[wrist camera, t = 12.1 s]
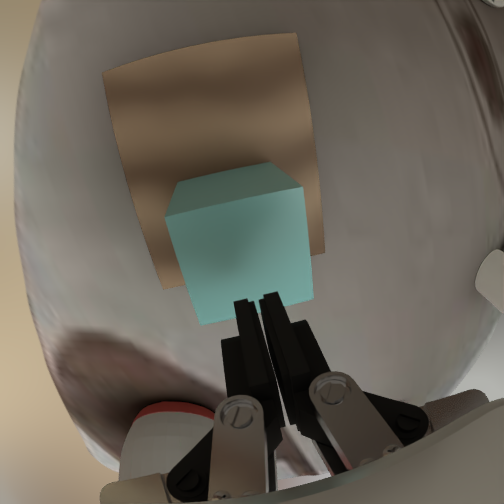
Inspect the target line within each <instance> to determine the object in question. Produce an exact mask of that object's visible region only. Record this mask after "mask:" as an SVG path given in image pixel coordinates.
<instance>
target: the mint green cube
mask: <svg viewBox="0 0 504 504" xmlns="http://www.w3.org/2000/svg"><path fill="white" fill-rule="evenodd" d="M164 218H165V221H166V225H167V228H168V231H169V234H170V238H171V241H172V244H173V247H174V250H175V253H176V257H177V260H178V263H179V266H180V269H181V272H182V275H183V278H184V281H185V284H186V286H187V289H188V292H189V295H190V298H191V301H192V303H193V306H194V309H195V312H196V315H197V317H198V320H199V323H200V325H206V324H210V323H215V322H220V321H225V320H229V319H234V318H236V314H235V309H234V303H233V301H238V300H242V299H246V298H248V302H251V301H254V302H255V306H256V310H257V313H260V312H261V310H260V305H259V299H263V294H268V293H272V292H276V291H278V293H279V296H280V298H281V301H282V303H283V305H284V307H285V306H289V305H293V304H296V303H300V302H304V301H308V300H312V299H314V297H313V283H312V270H311V258H310V247H309V236H308V227H307V217H306V208H305V199H304V191H303V186H301V185H300V184H299V183H298V182H296V181H295V180H294V179H292V178H291V177H290V176H288V175H287V174H286V173H285V172H283V171H282V170H281V169H279V168H278V167H277V166H275V165H274V164H273V163H271V162H267V163H261V164H256V165H251V166H246V167H241V168H236V169H232V170H227V171H222V172H218V173H213V174H209V175H205V176H200V177H196V178H192V179H188V180H184V181H180V182H178V183H177V185H176V188H175V190H174V193H173V195H172V198H171V201H170V203H169V206H168V209H167V211H166V214H165V217H164Z"/></svg>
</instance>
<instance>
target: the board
mask: <svg viewBox="0 0 504 504" xmlns="http://www.w3.org/2000/svg"><path fill="white" fill-rule="evenodd" d="M102 76H103V81H104V87H105V92H106V97H107V102H108V107H109V112H110V116H111V121H112V125H113V129H114V134H115V138H116V142H117V146H118V150H119V154H120V158H121V161H122V165H123V169H124V172H125V176H126V180H127V183H128V187H129V190H130V193H131V197H132V200H133V203H134V207H135V210H136V213H137V216H138V219H139V222H140V225H141V229H142V232H143V235H144V237H145V240H146V243H147V246H148V249H149V252H150V255H151V258H152V260H153V263H154V266H155V269H156V271H157V274H158V277H159V279H160V282H161V285H162V287H163V290H164V289H168V288H173V287H177V286H182V285H186V284H185V281H184V278H183V275H182V272H181V269H180V266H179V263H178V260H177V257H176V253H175V250H174V247H173V244H172V241H171V238H170V234H169V231H168V228H167V225H166V221H165V218H164V217H165V214H166V211H167V209H168V206H169V203H170V201H171V198H172V195H173V193H174V190H175V188H176V185H177V183H178V182H180V181H184V180H188V179H192V178H196V177H200V176H205V175H209V174H213V173H218V172H222V171H227V170H232V169H236V168H241V167H246V166H251V165H256V164H261V163H267V162H271V163H273V164H274V165H275V166H277V167H278V168H279V169H281V170H282V171H283V172H285V173H286V174H287V175H288V176H290V177H291V178H292V179H294V180H295V181H296V182H298V183H299V184H300V185H301V186H303V191H304V199H305V208H306V217H307V227H308V236H309V247H310V256H313V255H318V254H322V253H325V243H324V229H323V216H322V205H321V194H320V184H319V174H318V165H317V157H316V149H315V141H314V133H313V126H312V119H311V112H310V106H309V99H308V93H307V87H306V81H305V76H304V70H303V65H302V59H301V54H300V49H299V44H298V39H297V34H296V33H282V34H269V35H258V36H249V37H241V38H233V39H227V40H220V41H214V42H209V43H204V44H199V45H194V46H189V47H185V48H180V49H176V50H172V51H168V52H164V53H160V54H157V55H153V56H150V57H146V58H143V59H140V60H137V61H133V62H130V63H127V64H124V65H122V66H119V67H116V68H113V69H110V70H108V71H105V72H102Z"/></svg>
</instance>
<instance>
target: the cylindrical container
mask: <svg viewBox="0 0 504 504" xmlns="http://www.w3.org/2000/svg"><path fill="white" fill-rule="evenodd" d="M475 288H476V290H477V291H478V292H479V293H481V294H482V295H483V296H484V297H485V298H486V299H487V300H488V301H490V302H491V303H492V304H493V305H494V306H495V307H496V308H497V309H498V310H499V311H500V312H501V313H502V314H504V252H502V251H501V250H499V249H496V250H493V251H492V252H491V253H489V254H488V256H487V257H486V258H485V259H484V261H483V262H482V264H481V266H480V268H479V270H478V272H477V275H476V280H475Z"/></svg>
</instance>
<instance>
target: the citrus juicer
mask: <svg viewBox="0 0 504 504" xmlns="http://www.w3.org/2000/svg"><path fill="white" fill-rule="evenodd" d="M214 415H215V414H214V413H213V412H212V411H210V410H208V409H206V408H204V407H202V406H199V405H195V404H191V403H185V402H167V401H163V402H160V403H155V404H152V405H149V406H147V407H145V408H143V409H142V410H141V411H140V412H139V414H138V415H137V416H136V418H135V419H134V421H133V422H132V425H131V428H130V430H129V432H128V435H127V437H126V440H125V443H124V446H123V449H122V454H121V460H120V468H119V481H123V480H128V479H133V478H138V477H142V476H147V475H151V474H155V473H161V474H164V473H168V472H170V471H171V469H172V468H173V467H174V466H175V465H176V464H177V463H178V462H179V461H180V460H181V459H182V458H184V457H185V456H186V455H187V454H188V453H189V452H190V451H191V450H192V449H193V448H194V446H195V445H196V444H197V443H198V442H199V441H200V440H201V439H202V438H203V437H204V436H205V435H206V434H207V433H208V432H209V431H210V430H211V429H212V428H213V427H214Z"/></svg>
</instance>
